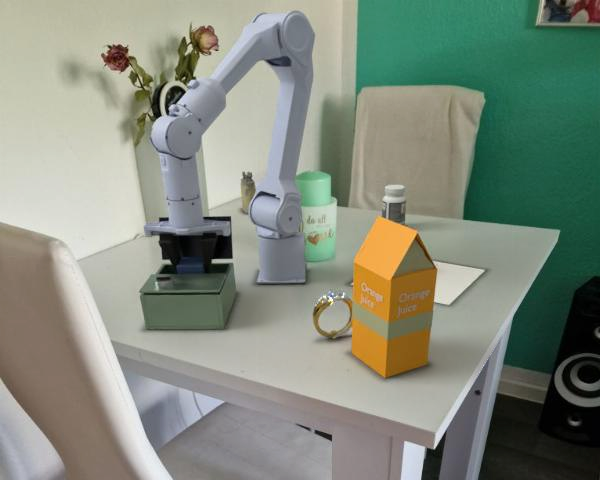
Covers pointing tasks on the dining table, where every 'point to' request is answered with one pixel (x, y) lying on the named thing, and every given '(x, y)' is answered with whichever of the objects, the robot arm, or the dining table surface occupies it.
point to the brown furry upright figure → (247, 190)
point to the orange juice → (392, 299)
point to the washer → (189, 299)
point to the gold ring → (320, 308)
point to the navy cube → (191, 265)
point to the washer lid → (193, 248)
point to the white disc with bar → (163, 281)
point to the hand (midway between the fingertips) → (193, 275)
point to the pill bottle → (394, 204)
